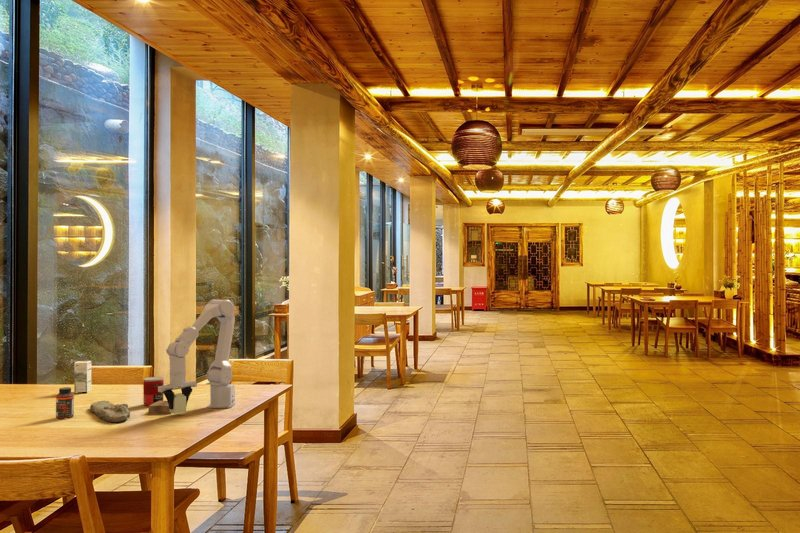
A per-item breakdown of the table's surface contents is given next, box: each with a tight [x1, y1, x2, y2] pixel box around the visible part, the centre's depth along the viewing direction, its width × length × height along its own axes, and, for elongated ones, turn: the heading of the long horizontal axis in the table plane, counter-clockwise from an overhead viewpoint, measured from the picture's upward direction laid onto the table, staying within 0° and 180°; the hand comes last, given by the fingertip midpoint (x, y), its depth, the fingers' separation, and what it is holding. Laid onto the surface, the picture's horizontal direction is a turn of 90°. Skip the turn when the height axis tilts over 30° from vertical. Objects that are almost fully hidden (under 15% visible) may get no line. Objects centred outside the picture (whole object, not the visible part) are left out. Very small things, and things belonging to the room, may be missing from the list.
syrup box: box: [73, 360, 92, 393], centre depth 275 cm, size 6×6×14 cm
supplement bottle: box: [55, 386, 75, 420], centre depth 225 cm, size 6×6×11 cm
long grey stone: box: [89, 400, 131, 423], centre depth 230 cm, size 35×5×10 cm
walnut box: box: [148, 400, 172, 415], centre depth 236 cm, size 9×9×4 cm
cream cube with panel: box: [170, 392, 187, 415], centre depth 228 cm, size 5×5×7 cm
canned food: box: [142, 376, 165, 407], centre depth 248 cm, size 8×8×11 cm
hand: (177, 407), depth 228 cm, fingers closed on cream cube with panel, 5 cm apart
